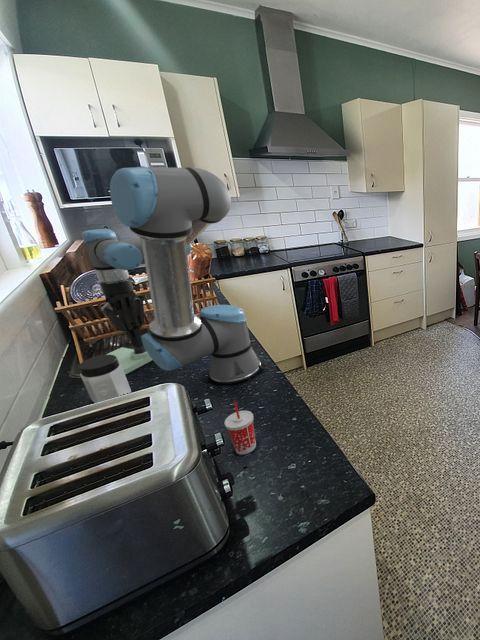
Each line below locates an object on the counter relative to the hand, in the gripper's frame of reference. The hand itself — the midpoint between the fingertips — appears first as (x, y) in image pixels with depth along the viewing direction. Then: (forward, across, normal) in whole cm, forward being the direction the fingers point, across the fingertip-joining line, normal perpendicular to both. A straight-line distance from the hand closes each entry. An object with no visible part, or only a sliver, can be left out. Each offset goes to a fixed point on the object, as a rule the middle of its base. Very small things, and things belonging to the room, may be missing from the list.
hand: (138, 345), depth 118 cm
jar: (+6, +19, +11) cm, 22 cm away
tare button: (+2, 0, 0) cm, 2 cm away
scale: (+6, +4, -4) cm, 8 cm away
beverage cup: (+5, +26, +62) cm, 67 cm away
